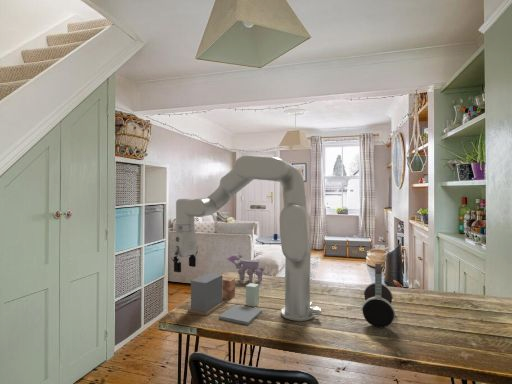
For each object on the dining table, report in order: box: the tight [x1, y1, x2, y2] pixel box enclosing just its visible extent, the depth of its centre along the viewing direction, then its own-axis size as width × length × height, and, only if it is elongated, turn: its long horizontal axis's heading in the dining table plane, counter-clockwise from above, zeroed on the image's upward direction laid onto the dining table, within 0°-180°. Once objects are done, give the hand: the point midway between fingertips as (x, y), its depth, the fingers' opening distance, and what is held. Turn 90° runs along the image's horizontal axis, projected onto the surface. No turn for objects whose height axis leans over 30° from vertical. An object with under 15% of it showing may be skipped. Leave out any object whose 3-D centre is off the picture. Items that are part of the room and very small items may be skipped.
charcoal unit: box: [187, 273, 226, 316], centre depth 120 cm, size 9×13×12 cm
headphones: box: [361, 262, 396, 328], centre depth 111 cm, size 11×20×20 cm, turn 158°
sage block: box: [245, 282, 260, 308], centre depth 124 cm, size 4×4×8 cm
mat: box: [218, 304, 263, 326], centre depth 112 cm, size 12×12×1 cm
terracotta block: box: [222, 277, 236, 300], centre depth 132 cm, size 4×4×8 cm
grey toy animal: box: [226, 253, 265, 285], centre depth 157 cm, size 20×11×14 cm, turn 77°
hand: (185, 269), depth 125 cm, fingers open, 9 cm apart
